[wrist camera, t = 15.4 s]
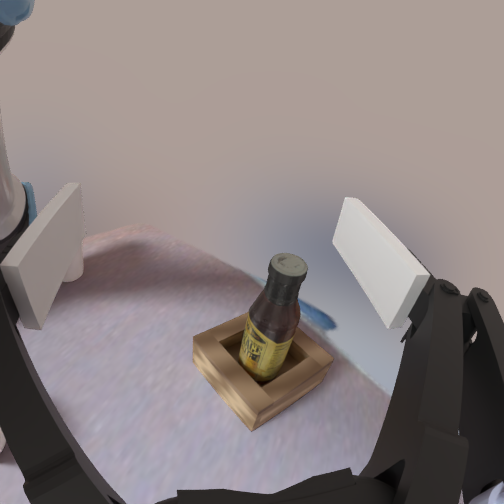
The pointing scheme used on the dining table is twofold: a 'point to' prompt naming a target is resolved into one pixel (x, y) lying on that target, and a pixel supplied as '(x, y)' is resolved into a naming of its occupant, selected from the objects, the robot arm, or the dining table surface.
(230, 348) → the open wooden box
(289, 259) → the sauce bottle
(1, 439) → the lidded jar
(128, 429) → the dining table surface
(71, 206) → the robot arm
